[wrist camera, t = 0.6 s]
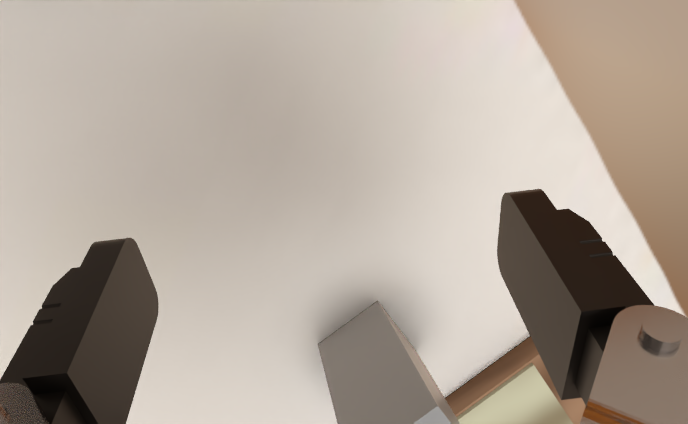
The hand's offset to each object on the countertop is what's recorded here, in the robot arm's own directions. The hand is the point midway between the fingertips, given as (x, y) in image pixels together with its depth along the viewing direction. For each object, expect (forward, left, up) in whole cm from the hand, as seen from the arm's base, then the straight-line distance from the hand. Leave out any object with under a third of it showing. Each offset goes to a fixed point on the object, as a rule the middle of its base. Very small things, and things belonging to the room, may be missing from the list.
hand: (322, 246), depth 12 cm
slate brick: (+15, -4, -21) cm, 26 cm away
